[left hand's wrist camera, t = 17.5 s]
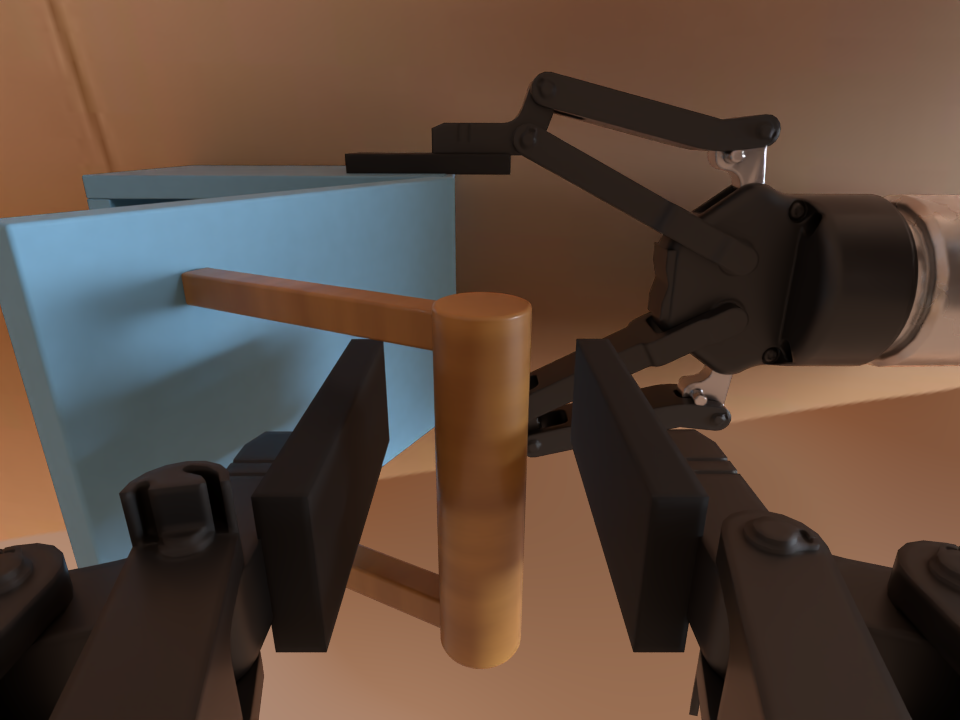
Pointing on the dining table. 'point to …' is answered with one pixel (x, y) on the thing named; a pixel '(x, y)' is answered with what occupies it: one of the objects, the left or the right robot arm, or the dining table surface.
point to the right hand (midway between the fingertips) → (361, 280)
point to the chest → (217, 182)
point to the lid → (279, 367)
